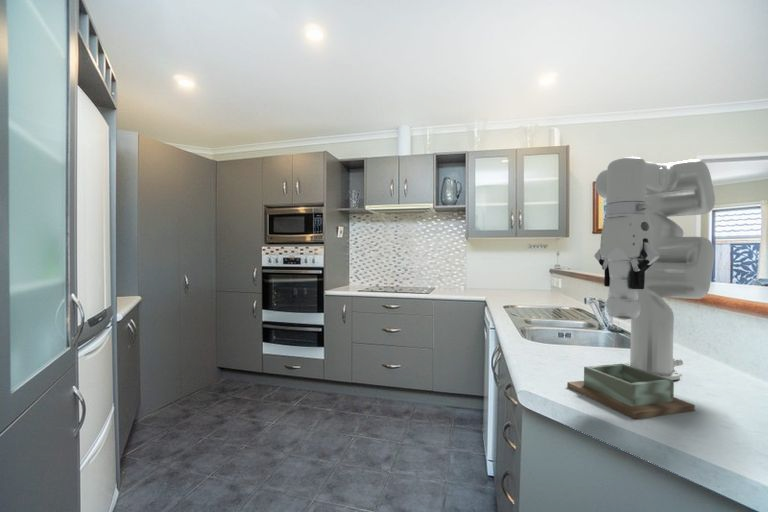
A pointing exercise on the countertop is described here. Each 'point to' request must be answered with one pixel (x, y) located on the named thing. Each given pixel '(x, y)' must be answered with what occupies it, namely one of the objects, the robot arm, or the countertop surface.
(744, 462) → the countertop surface
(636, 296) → the plastic bottle
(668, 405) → the green open box
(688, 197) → the robot arm
